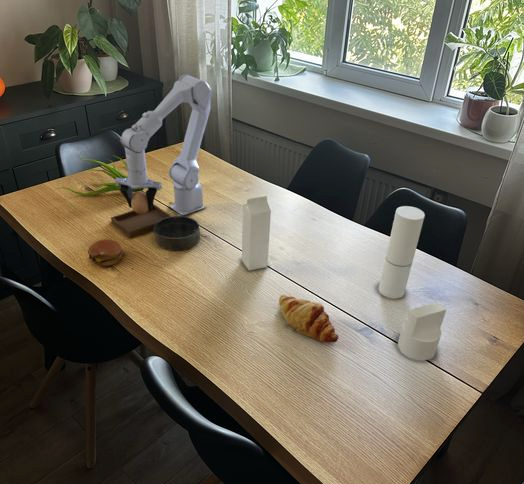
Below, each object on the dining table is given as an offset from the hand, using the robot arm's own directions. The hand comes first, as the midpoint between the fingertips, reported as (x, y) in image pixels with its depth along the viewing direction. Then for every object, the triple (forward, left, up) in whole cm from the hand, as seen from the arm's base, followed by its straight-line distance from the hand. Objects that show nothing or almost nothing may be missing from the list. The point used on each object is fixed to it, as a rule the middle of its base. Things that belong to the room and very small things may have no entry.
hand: (141, 207), depth 162 cm
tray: (0, 0, -6) cm, 6 cm away
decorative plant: (+1, -27, -6) cm, 28 cm away
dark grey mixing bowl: (-4, +15, -6) cm, 17 cm away
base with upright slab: (-22, +93, -6) cm, 96 cm away
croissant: (-7, +70, -6) cm, 71 cm away
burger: (+19, +12, -6) cm, 23 cm away
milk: (-14, +41, -6) cm, 44 cm away
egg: (0, 0, -2) cm, 2 cm away
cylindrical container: (-36, +75, -6) cm, 83 cm away
